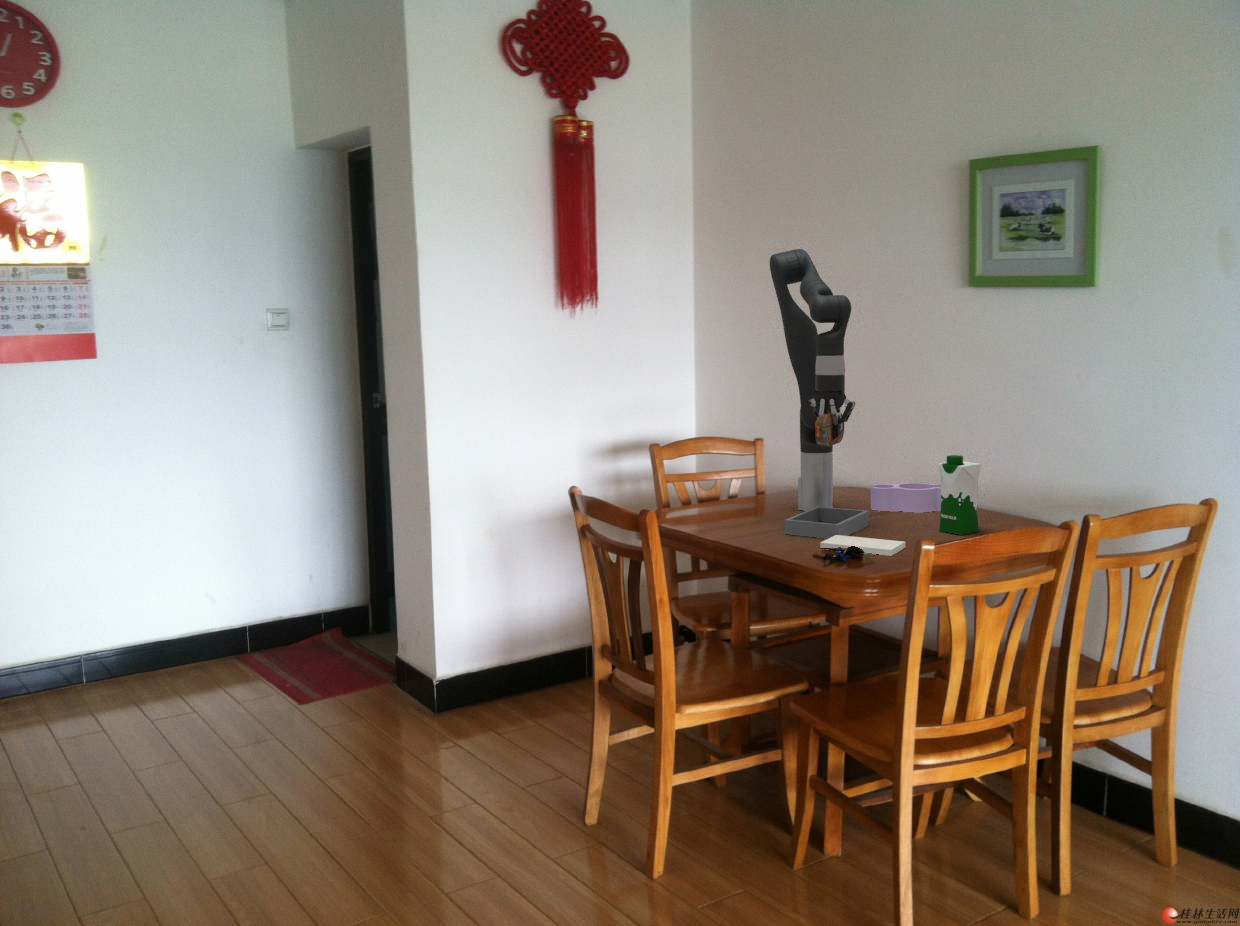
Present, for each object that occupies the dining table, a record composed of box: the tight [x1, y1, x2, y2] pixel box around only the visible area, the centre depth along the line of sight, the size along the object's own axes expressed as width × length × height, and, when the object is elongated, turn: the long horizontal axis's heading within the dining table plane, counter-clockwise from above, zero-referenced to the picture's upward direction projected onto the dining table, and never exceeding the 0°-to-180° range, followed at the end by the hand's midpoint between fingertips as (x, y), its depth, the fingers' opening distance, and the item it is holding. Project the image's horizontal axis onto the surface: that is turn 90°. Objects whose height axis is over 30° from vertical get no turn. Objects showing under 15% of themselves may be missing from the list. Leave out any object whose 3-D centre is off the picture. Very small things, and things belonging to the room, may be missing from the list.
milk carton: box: [938, 454, 982, 536], centre depth 276 cm, size 9×9×20 cm
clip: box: [870, 482, 941, 514], centre depth 310 cm, size 20×12×7 cm, turn 81°
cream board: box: [819, 535, 906, 557], centre depth 262 cm, size 18×10×2 cm, turn 56°
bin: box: [784, 506, 870, 540], centre depth 284 cm, size 15×21×4 cm
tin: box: [815, 412, 845, 447], centre depth 280 cm, size 15×3×8 cm, turn 147°
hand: (829, 438), depth 281 cm, fingers closed on tin, 2 cm apart
